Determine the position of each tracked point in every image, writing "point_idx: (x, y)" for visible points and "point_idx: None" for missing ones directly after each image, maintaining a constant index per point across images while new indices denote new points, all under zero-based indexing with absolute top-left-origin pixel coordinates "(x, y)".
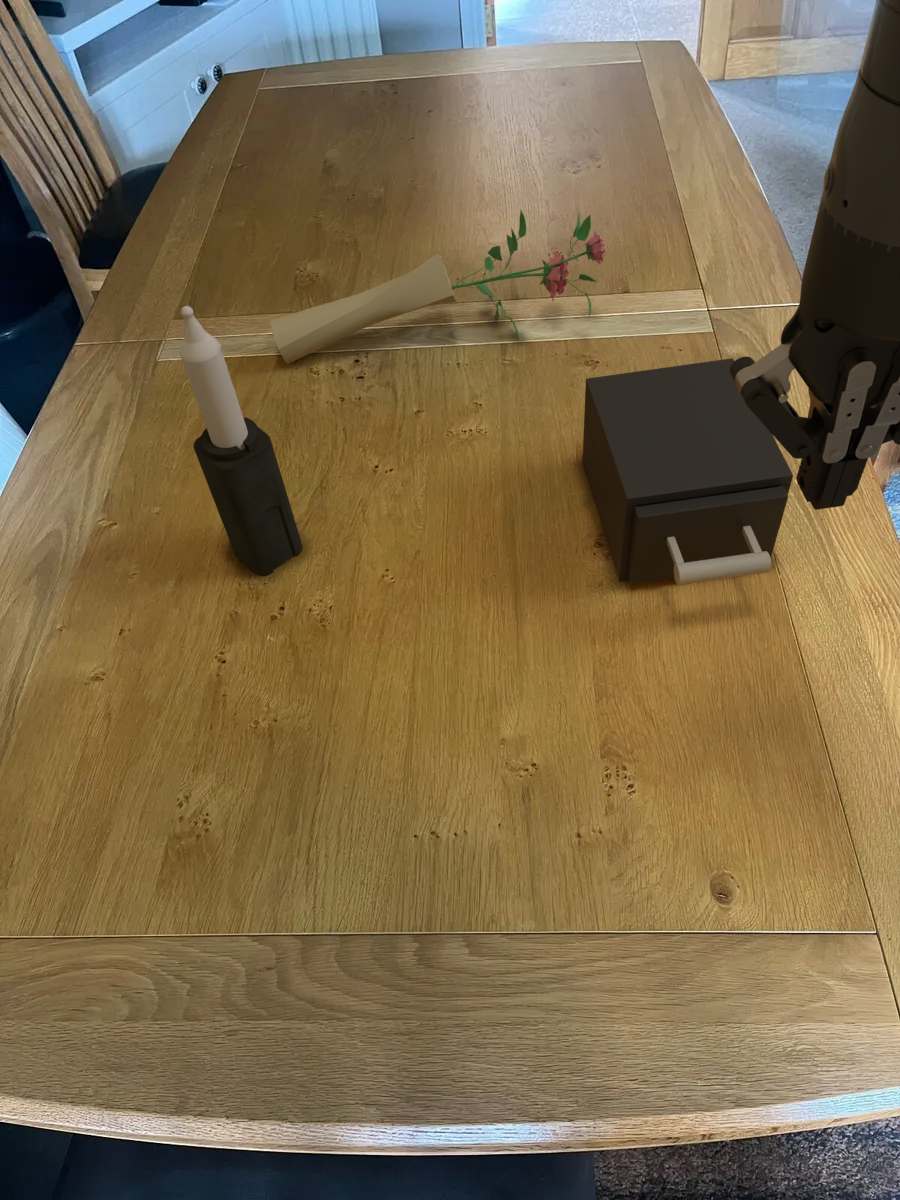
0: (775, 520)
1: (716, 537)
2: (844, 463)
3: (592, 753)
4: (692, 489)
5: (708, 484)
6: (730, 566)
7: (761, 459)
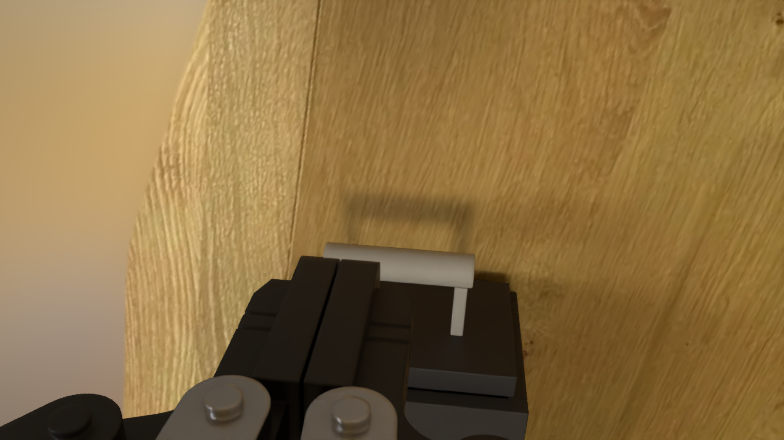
0: None
1: None
2: (308, 375)
3: (680, 21)
4: (417, 403)
5: None
6: (389, 262)
7: None
